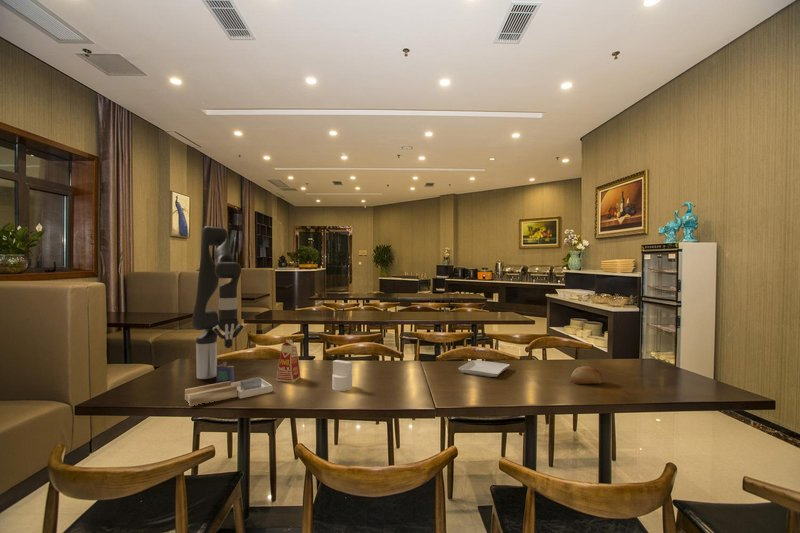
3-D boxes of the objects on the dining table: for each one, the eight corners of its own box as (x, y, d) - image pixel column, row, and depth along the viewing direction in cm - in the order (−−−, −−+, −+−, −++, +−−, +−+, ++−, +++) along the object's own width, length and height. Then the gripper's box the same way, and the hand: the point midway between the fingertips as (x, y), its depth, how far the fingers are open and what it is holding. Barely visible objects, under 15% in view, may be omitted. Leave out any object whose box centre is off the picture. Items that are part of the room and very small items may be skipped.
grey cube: (240, 389, 179) (240, 380, 179) (249, 387, 182) (249, 378, 181) (243, 391, 176) (243, 382, 176) (252, 389, 178) (252, 380, 178)
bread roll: (608, 386, 184) (608, 369, 184) (575, 386, 185) (575, 369, 185) (598, 380, 194) (598, 364, 194) (567, 380, 194) (567, 364, 194)
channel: (184, 399, 168) (184, 389, 168) (229, 391, 179) (229, 381, 179) (190, 406, 160) (190, 395, 160) (237, 396, 172) (236, 386, 172)
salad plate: (457, 374, 206) (457, 367, 206) (472, 365, 225) (472, 359, 224) (497, 380, 195) (497, 373, 195) (510, 370, 213) (510, 364, 213)
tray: (228, 389, 182) (228, 383, 182) (259, 383, 191) (259, 377, 191) (240, 398, 170) (240, 391, 169) (272, 391, 178) (272, 385, 178)
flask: (235, 384, 189) (235, 362, 189) (231, 386, 186) (230, 363, 186) (218, 383, 191) (218, 360, 191) (214, 385, 188) (214, 362, 188)
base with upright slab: (356, 386, 185) (356, 360, 185) (344, 392, 178) (344, 365, 177) (340, 383, 190) (340, 358, 190) (328, 389, 182) (328, 362, 182)
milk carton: (293, 382, 192) (292, 340, 192) (275, 381, 194) (275, 339, 194) (301, 376, 201) (301, 336, 201) (284, 375, 203) (284, 336, 203)
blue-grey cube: (249, 378, 182) (258, 377, 184) (249, 387, 182) (258, 385, 184) (252, 380, 179) (261, 379, 181) (252, 389, 179) (261, 387, 181)
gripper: (240, 306, 182) (240, 344, 183) (209, 308, 174) (209, 348, 174) (246, 307, 177) (246, 347, 177) (214, 310, 168) (214, 351, 168)
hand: (228, 347), depth 176 cm, fingers closed
